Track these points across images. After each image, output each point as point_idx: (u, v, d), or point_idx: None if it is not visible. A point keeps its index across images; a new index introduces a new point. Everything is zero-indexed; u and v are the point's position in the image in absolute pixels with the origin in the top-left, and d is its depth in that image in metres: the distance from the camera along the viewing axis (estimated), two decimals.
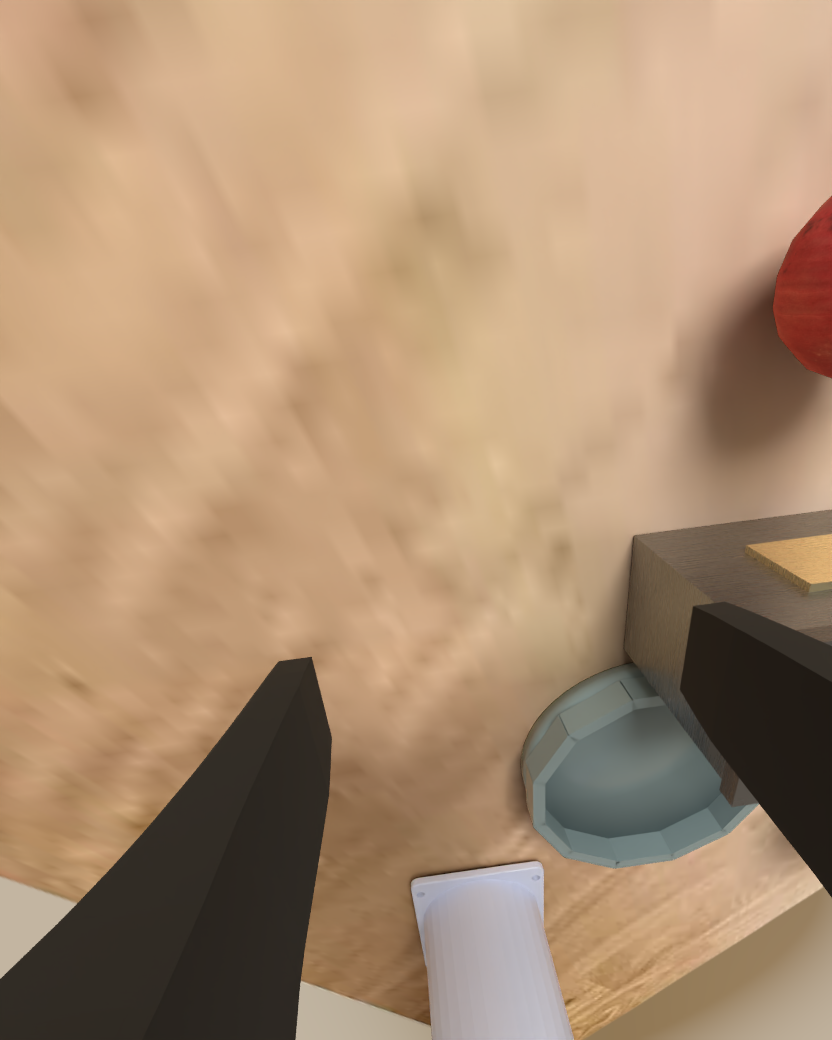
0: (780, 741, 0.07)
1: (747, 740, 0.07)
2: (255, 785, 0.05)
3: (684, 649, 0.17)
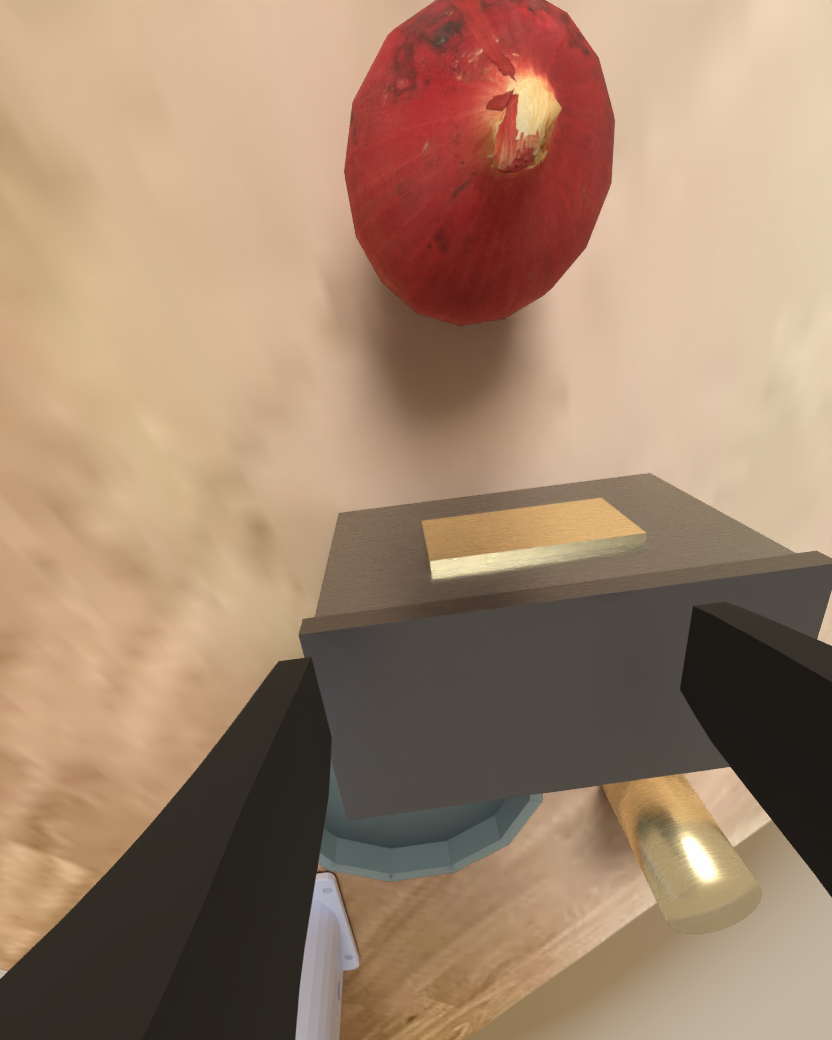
0: (780, 741, 0.07)
1: (747, 740, 0.07)
2: (255, 785, 0.05)
3: None
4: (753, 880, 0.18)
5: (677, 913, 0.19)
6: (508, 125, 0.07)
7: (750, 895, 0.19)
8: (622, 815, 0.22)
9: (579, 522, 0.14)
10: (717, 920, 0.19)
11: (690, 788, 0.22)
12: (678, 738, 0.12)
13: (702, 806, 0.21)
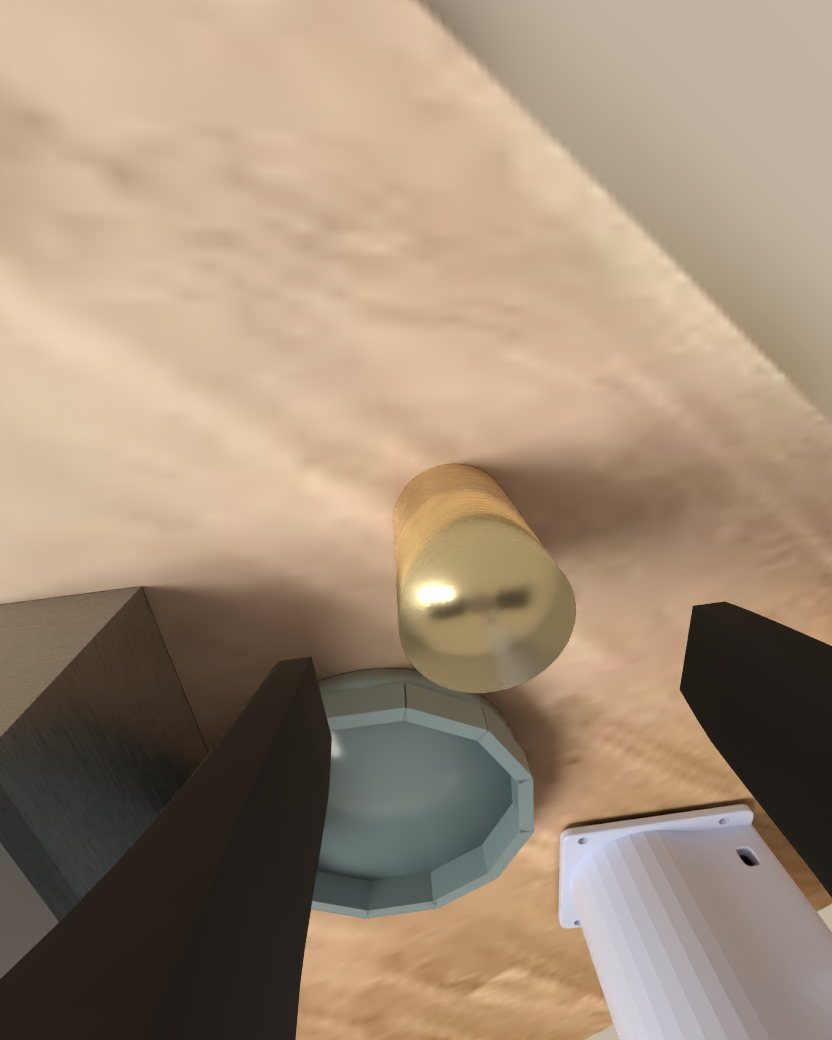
0: (780, 741, 0.07)
1: (747, 740, 0.07)
2: (255, 785, 0.05)
3: None
4: (422, 572, 0.10)
5: (496, 674, 0.11)
6: None
7: (466, 568, 0.10)
8: None
9: None
10: (535, 604, 0.10)
11: (406, 512, 0.13)
12: None
13: (408, 524, 0.12)
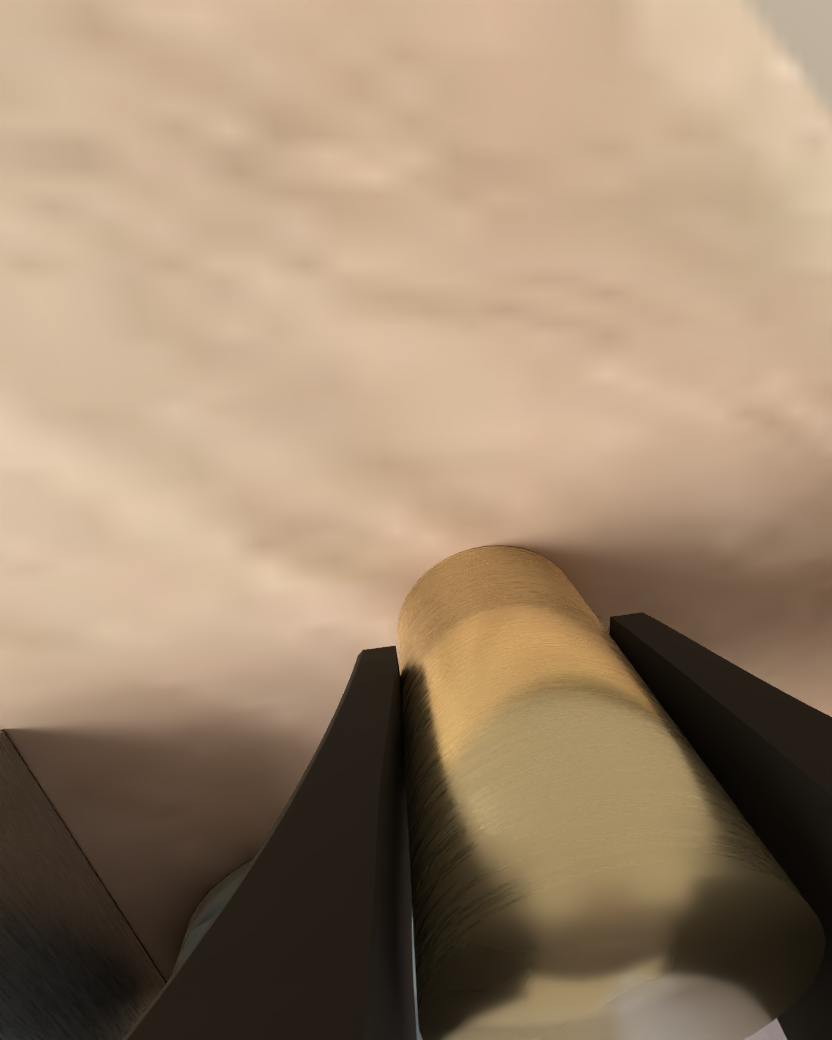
0: None
1: None
2: (382, 767, 0.05)
3: None
4: (479, 927, 0.04)
5: None
6: None
7: (587, 919, 0.04)
8: None
9: None
10: (734, 963, 0.04)
11: (423, 650, 0.08)
12: None
13: (428, 689, 0.07)
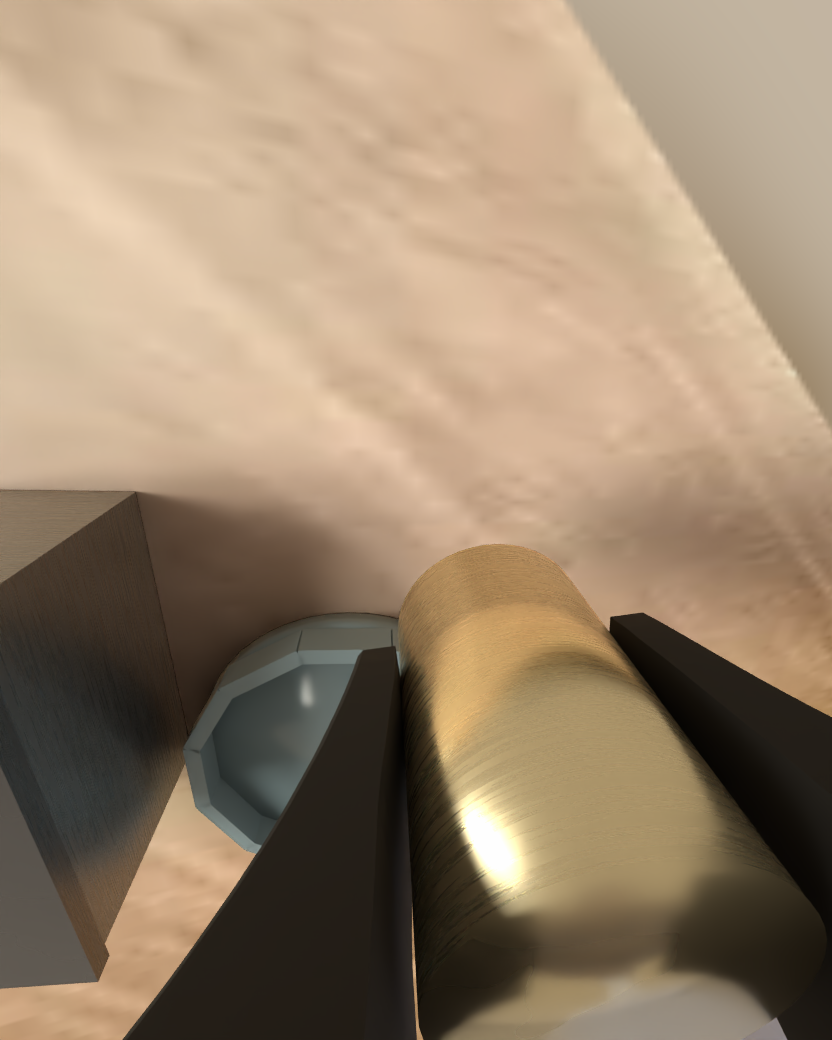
0: None
1: None
2: (381, 767, 0.05)
3: None
4: (480, 924, 0.04)
5: None
6: None
7: (589, 916, 0.04)
8: None
9: None
10: (736, 961, 0.04)
11: (423, 648, 0.07)
12: None
13: (429, 686, 0.07)
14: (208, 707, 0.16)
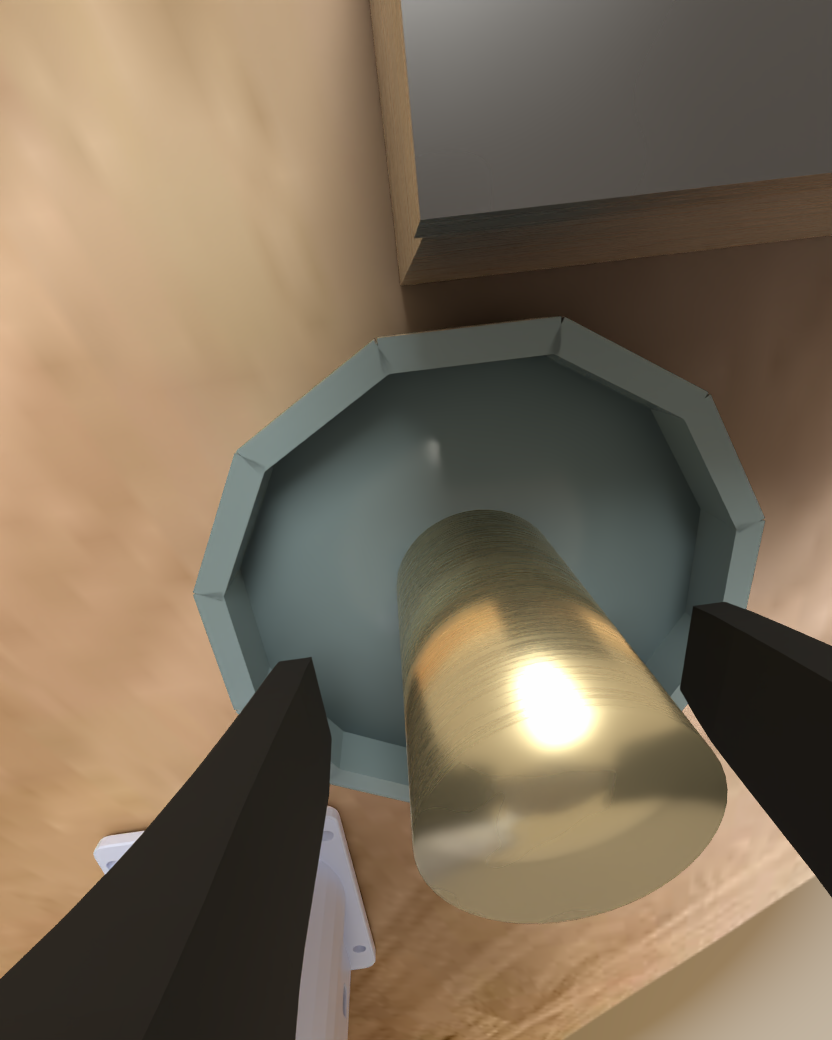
0: (780, 741, 0.07)
1: (747, 740, 0.07)
2: (255, 785, 0.05)
3: None
4: (467, 752, 0.05)
5: (570, 900, 0.06)
6: None
7: (549, 749, 0.05)
8: None
9: None
10: (659, 804, 0.06)
11: (422, 587, 0.09)
12: None
13: (427, 612, 0.08)
14: (667, 374, 0.08)
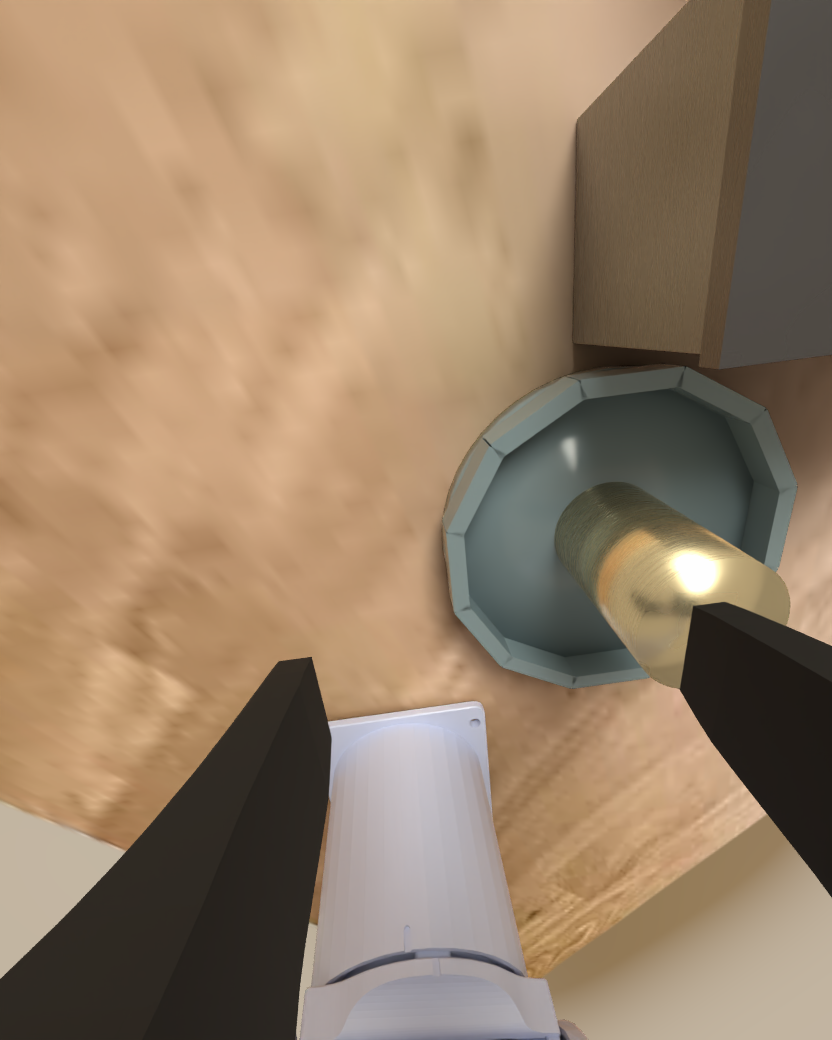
0: (780, 741, 0.07)
1: (747, 740, 0.07)
2: (255, 785, 0.05)
3: (644, 196, 0.10)
4: (671, 581, 0.11)
5: None
6: None
7: (709, 579, 0.11)
8: None
9: None
10: (756, 613, 0.12)
11: (594, 524, 0.15)
12: None
13: (608, 535, 0.14)
14: (742, 397, 0.14)
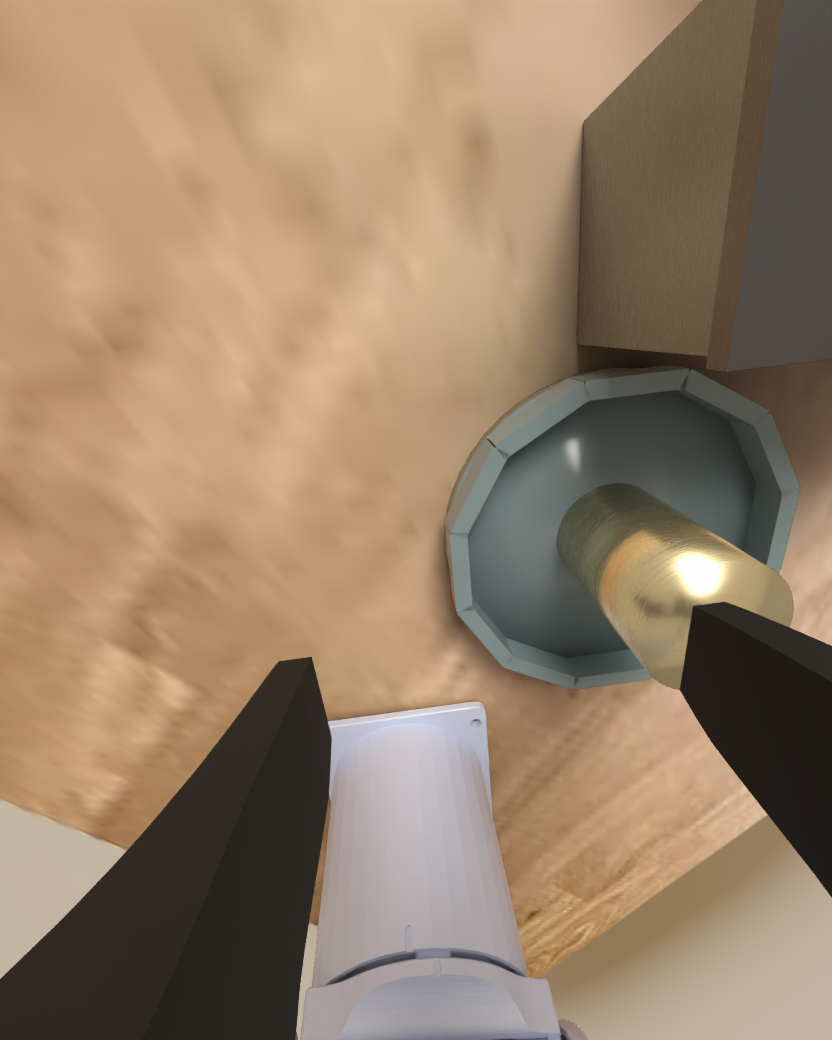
0: (780, 741, 0.07)
1: (747, 740, 0.07)
2: (255, 785, 0.05)
3: (651, 198, 0.10)
4: (675, 582, 0.11)
5: None
6: None
7: (713, 581, 0.11)
8: None
9: None
10: None
11: (598, 525, 0.15)
12: None
13: (611, 537, 0.14)
14: (746, 400, 0.14)
